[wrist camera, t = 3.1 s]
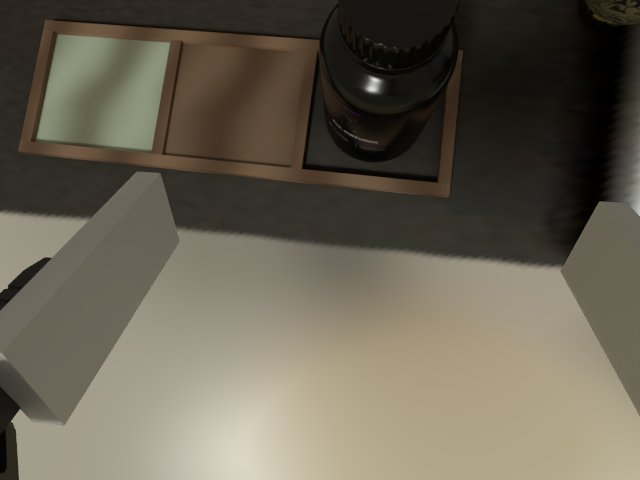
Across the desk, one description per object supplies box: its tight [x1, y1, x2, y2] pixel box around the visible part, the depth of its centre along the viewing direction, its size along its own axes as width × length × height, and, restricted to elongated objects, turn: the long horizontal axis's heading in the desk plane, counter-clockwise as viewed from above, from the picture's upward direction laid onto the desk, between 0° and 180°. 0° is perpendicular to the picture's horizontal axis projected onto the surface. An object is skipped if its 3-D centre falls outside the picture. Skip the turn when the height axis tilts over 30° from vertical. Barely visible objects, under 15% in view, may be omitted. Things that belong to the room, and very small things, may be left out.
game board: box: [18, 20, 463, 198], centre depth 27 cm, size 31×10×1 cm, turn 83°
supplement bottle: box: [319, 0, 459, 162], centre depth 21 cm, size 7×7×12 cm
